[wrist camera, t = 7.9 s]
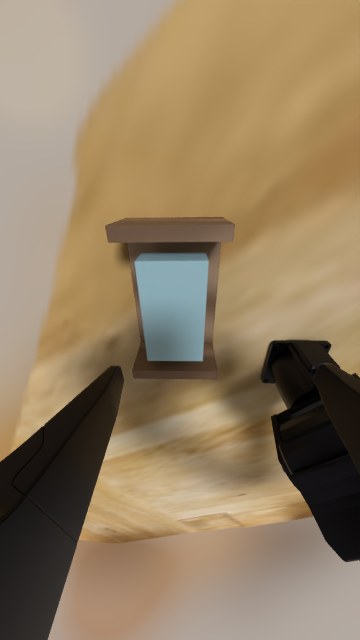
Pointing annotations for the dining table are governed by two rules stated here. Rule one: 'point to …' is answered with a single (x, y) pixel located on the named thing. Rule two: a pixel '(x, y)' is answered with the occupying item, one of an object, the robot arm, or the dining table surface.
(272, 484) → the dining table surface
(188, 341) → the block
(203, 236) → the cradle
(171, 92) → the dining table surface
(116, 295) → the dining table surface
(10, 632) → the robot arm
